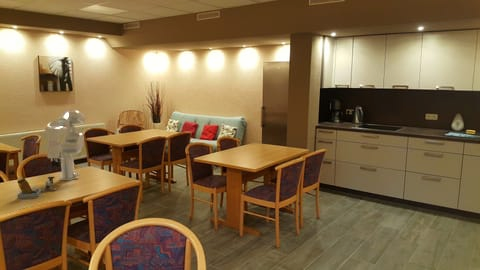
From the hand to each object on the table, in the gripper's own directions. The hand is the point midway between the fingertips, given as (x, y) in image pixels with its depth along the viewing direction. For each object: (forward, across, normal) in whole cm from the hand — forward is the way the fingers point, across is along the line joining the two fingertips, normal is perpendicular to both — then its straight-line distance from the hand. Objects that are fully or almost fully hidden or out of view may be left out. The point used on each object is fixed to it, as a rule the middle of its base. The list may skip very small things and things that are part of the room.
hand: (55, 166), depth 274 cm
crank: (+15, -3, -4) cm, 16 cm away
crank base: (+17, -5, -10) cm, 20 cm away
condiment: (+15, -5, -22) cm, 27 cm away
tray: (+17, -4, -22) cm, 28 cm away
